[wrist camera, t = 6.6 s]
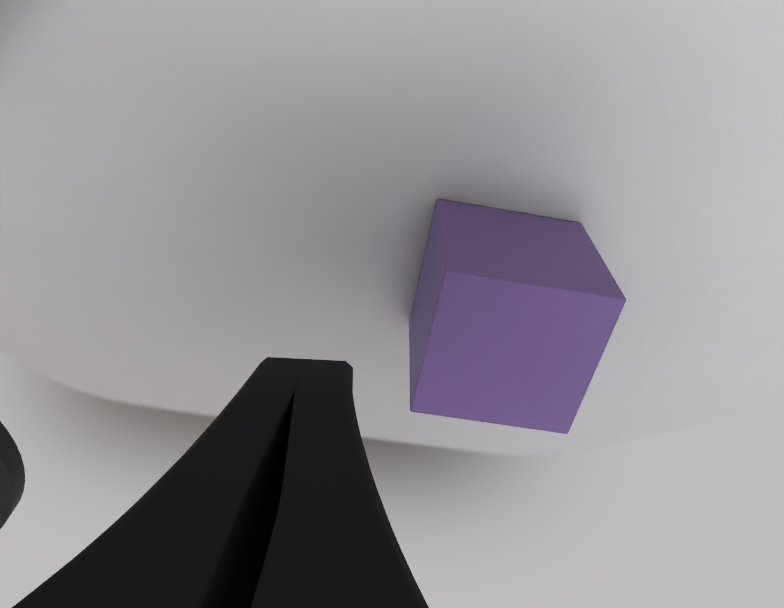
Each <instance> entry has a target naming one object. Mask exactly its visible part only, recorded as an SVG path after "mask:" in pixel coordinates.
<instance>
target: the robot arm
mask: <svg viewBox="0 0 784 608" xmlns="http://www.w3.org/2000/svg"><path fill="white" fill-rule="evenodd" d="M352 386H353V368H352V367H351V366H350V365H349V364H348V363H347V362H346V361H332V360H312V359H292V358H271V357H267V358H266V359H265V360H263V361H262V362H261V363H260V364H259V366H258V367H257V368H256V370H255V371H254V372H253V374H252V375H251V376H250V377H249V379H248V380H247V381H246V383H245V384H244V385H243V386H242V388H241V389H240V390H239V391H238V393H237V394H236V395H235V396H234V398H233V399H232V400H231V401H230V402H229V404H228V405H227V406H226V407H225V408H224V410H223V411H222V412H221V413H220V414H219V416H218V417H217V418H216V419H215V420H214V421H213V422H212V423H211V425H210V426H209V427H208V428H207V429H206V430H205V432H204V433H203V434H202V435H201V436H200V437H199V438H198V439H197V440H196V442H195V443H194V444H193V445H192V446H191V447H190V448H189V449H188V450H187V452H186V453H185V454H184V455H183V456H182V457H181V458H180V459H179V460H178V461H177V462H176V463H175V464H174V465H173V466H172V467H171V468H170V469H169V470H168V471H167V472H166V473H165V474H164V475H163V476H162V477H161V478H160V479H159V480H158V481H157V482H156V483H155V484H154V485H153V486H152V487H151V488H150V490H148V491H147V492H146V493H145V494H144V495H143V497H142V498H140V499H139V500H138V501H137V502H136V503H135V504H134V505H133V506H132V507H131V508H130V509H129V510H128V511H127V512H126V513H125V514H123V515H122V516H121V517H120V518H119V519H118V520H117V521H116V522H115V523H114V524H113V525H112V526H110V527H109V528H108V529H107V530H106V531H105V532H104V533H102V534H101V535H100V536H99V537H98V538H97V539H95V540H94V541H93V542H92V543H91V544H90V545H89V546H87V547H86V548H85V549H84V550H83V551H82V552H81V553H79V554H78V555H77V556H76V557H75V558H73V560H71V561H70V562H69V563H67V564H66V565H65V566H64V567H63V568H61V569H60V570H59V571H57V572H56V573H55V574H54V575H52V576H51V577H50V578H49V579H48V580H46V581H45V582H44V583H42V584H41V585H40V586H39V587H38V588H36V589H35V590H34V591H33V592H31V593H30V594H29V595H27V596H26V597H25V598H24V599H22V600H21V601H20V602H19V603H17V604H16V605H15V606H13V607H12V608H429V607H428V605H427V604H426V601H425V599H424V598H423V595H422V593H421V591H420V589H419V587H418V585H417V583H416V581H415V579H414V577H413V575H412V573H411V571H410V568H409V566H408V564H407V562H406V560H405V557H404V555H403V553H402V551H401V549H400V547H399V544H398V542H397V539H396V537H395V535H394V532H393V530H392V528H391V525H390V522H389V520H388V517H387V515H386V512H385V509H384V507H383V504H382V501H381V499H380V496H379V493H378V491H377V488H376V485H375V482H374V479H373V476H372V473H371V470H370V467H369V463H368V460H367V456H366V453H365V449H364V446H363V442H362V439H361V435H360V431H359V427H358V422H357V417H356V412H355V407H354V401H353V393H352Z"/></svg>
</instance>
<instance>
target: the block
mask: <svg viewBox="0 0 784 608" xmlns="http://www.w3.org/2000/svg"><path fill="white" fill-rule="evenodd" d="M625 301H626V298H625V297H624V295H623V293H622V292H621V290H620V288H619V286H618V285H617V283H616V281H615V280H614V278H613V276H612V275H611V273H610V271H609V270H608V268H607V266H606V264H605V263H604V261H603V259H602V258H601V256H600V254H599V253H598V251H597V249H596V248H595V246H594V244H593V242H592V241H591V239H590V237H589V236H588V234H587V232H586V231H585V229H584V227H583V226H582V224H581V223H577V222H571V221H565V220H559V219H553V218H547V217H541V216H535V215H529V214H523V213H518V212H512V211H506V210H500V209H494V208H488V207H482V206H476V205H470V204H465V203H459V202H453V201H447V200H441V199H437V200H436V204H435V208H434V213H433V217H432V222H431V226H430V231H429V235H428V240H427V244H426V249H425V253H424V258H423V262H422V267H421V271H420V276H419V280H418V284H417V289H416V293H415V298H414V302H413V307H412V311H411V316H410V320H409V349H410V410H411V411H412V412H418V413H425V414H432V415H439V416H446V417H453V418H460V419H467V420H474V421H481V422H488V423H495V424H502V425H509V426H516V427H523V428H530V429H537V430H544V431H551V432H558V433H565V434H567V433H568V432H569V429H570V427H571V425H572V422H573V420H574V418H575V416H576V413H577V411H578V409H579V406H580V404H581V402H582V400H583V397H584V395H585V393H586V390H587V388H588V386H589V384H590V381H591V379H592V377H593V374H594V372H595V370H596V368H597V365H598V363H599V361H600V358H601V356H602V354H603V352H604V349H605V347H606V345H607V342H608V340H609V338H610V336H611V333H612V331H613V329H614V326H615V324H616V322H617V320H618V317H619V315H620V313H621V310H622V308H623V306H624V304H625Z"/></svg>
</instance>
